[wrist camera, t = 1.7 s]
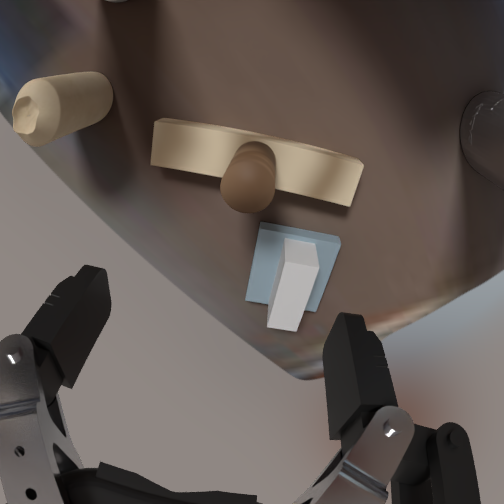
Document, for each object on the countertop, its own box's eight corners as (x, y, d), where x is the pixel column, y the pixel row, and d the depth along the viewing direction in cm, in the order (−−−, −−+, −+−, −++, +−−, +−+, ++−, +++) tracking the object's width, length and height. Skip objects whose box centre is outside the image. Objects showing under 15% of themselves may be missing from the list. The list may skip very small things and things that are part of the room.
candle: (123, 102, 25) (60, 122, 17) (86, 134, 27) (22, 165, 18) (97, 60, 23) (28, 65, 14) (61, 94, 24) (-7, 114, 16)
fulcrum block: (338, 236, 31) (348, 267, 26) (314, 303, 36) (318, 338, 31) (260, 221, 31) (256, 251, 26) (246, 291, 35) (241, 326, 31)
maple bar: (357, 157, 27) (387, 193, 19) (344, 196, 29) (367, 244, 21) (164, 117, 26) (119, 137, 18) (160, 157, 28) (118, 192, 20)
